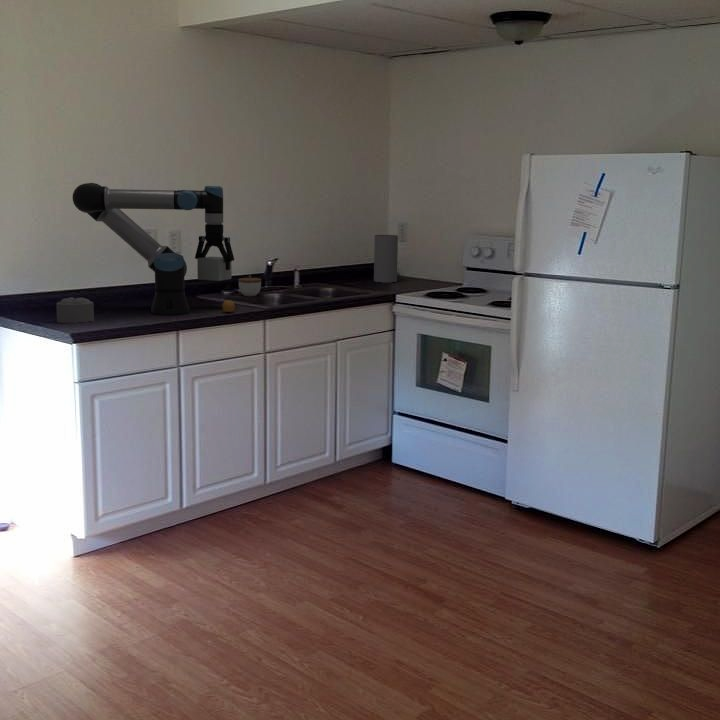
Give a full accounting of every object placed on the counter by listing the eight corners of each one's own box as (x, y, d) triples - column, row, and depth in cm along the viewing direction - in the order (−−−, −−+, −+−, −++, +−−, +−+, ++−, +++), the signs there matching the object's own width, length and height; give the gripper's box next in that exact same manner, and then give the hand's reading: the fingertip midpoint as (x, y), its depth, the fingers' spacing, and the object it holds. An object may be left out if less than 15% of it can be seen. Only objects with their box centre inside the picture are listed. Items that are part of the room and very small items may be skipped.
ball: (228, 313, 364) (228, 301, 363) (219, 312, 367) (219, 300, 366) (237, 312, 368) (237, 300, 367) (228, 311, 371) (228, 299, 370)
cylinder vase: (401, 282, 489) (402, 235, 484) (386, 283, 480) (387, 236, 475) (384, 280, 497) (385, 234, 492) (369, 281, 488) (369, 235, 483)
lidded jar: (234, 296, 420) (234, 275, 418) (245, 293, 429) (245, 273, 428) (254, 297, 416) (254, 277, 414) (265, 294, 426) (265, 275, 424)
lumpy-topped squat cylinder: (96, 321, 340) (95, 298, 338) (62, 324, 332) (61, 301, 330) (86, 318, 348) (85, 295, 346) (52, 320, 340) (51, 298, 338)
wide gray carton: (218, 280, 371) (218, 259, 369) (197, 279, 375) (197, 258, 373) (231, 278, 380) (231, 257, 379) (210, 277, 384) (210, 256, 383)
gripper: (242, 224, 372) (242, 278, 377) (195, 222, 381) (196, 274, 385) (233, 225, 366) (233, 279, 370) (185, 222, 374) (186, 276, 378)
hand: (214, 277), depth 378 cm, fingers closed on wide gray carton, 10 cm apart
